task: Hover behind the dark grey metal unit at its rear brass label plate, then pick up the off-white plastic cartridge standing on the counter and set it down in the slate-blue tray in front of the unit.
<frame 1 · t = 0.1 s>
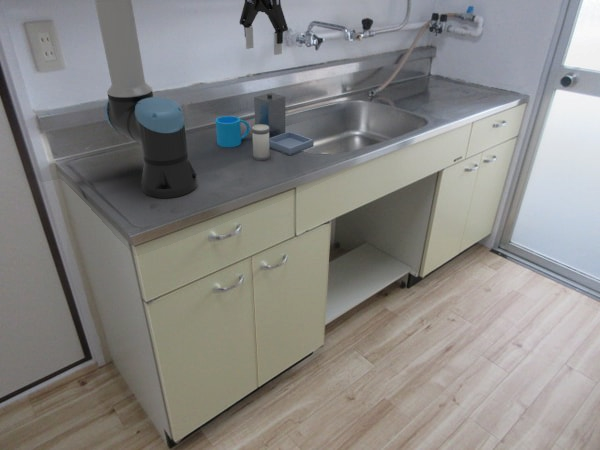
hand: (263, 51, 152), 28 cm above the worktop, fingers open, 13 cm apart
mug: (234, 142, 158), on the worktop
cartridge: (261, 157, 147), on the worktop
unit: (270, 136, 163), on the worktop
tray: (289, 146, 155), on the worktop
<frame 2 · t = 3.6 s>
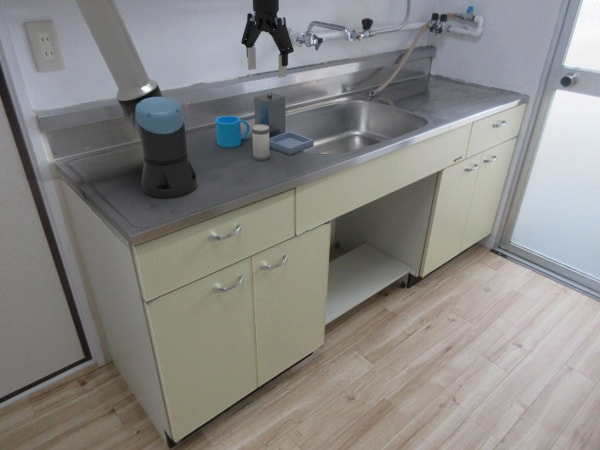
hand: (266, 73, 142), 24 cm above the worktop, fingers open, 13 cm apart
nothing on the worktop moved.
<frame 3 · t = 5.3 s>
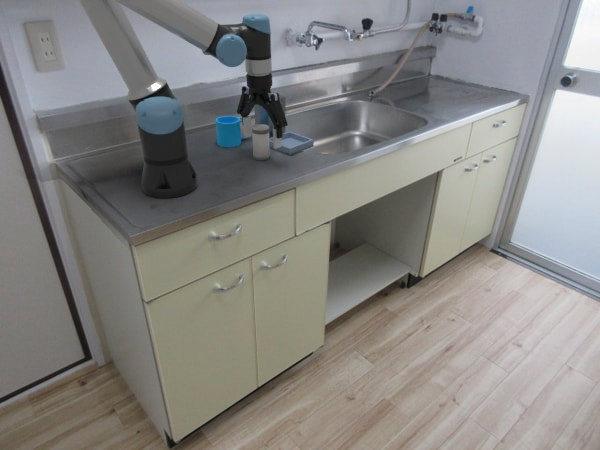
hand: (262, 142, 144), 5 cm above the worktop, fingers open, 13 cm apart
nothing on the worktop moved.
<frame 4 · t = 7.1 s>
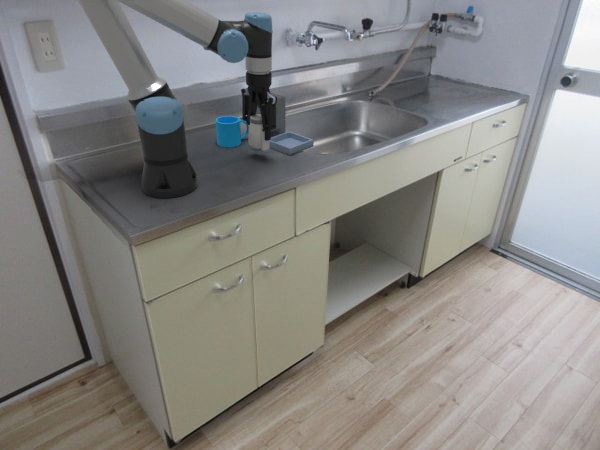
hand: (258, 146, 145), 4 cm above the worktop, fingers closed on cartridge, 5 cm apart
cartridge: (258, 147, 145), point 3 cm above the worktop, touching gripper
everything else where it was.
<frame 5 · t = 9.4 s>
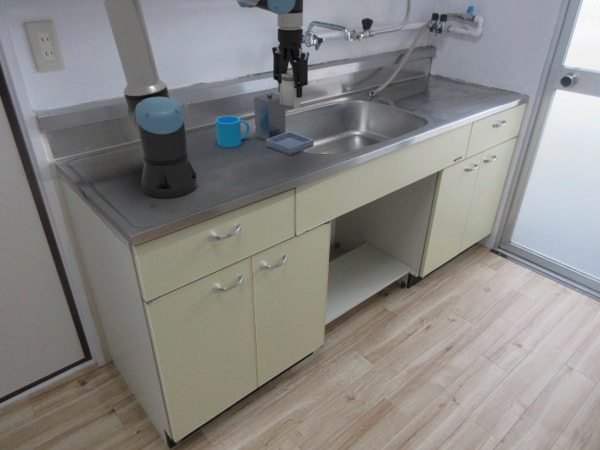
hand: (290, 105, 147), 14 cm above the worktop, fingers closed on cartridge, 5 cm apart
cartridge: (289, 106, 148), point 14 cm above the worktop, touching gripper
everything else where it was.
when the fingers open (3 cm above the worktop, at t = 12.7 s): cartridge stays where it is, resting on tray.
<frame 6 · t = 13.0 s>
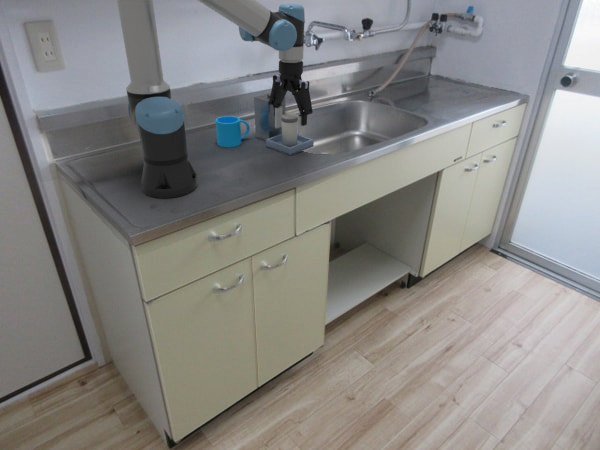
hand: (289, 130, 151), 6 cm above the worktop, fingers open, 10 cm apart
cartridge: (289, 144, 154), point 1 cm above the worktop, touching tray
everything else where it was.
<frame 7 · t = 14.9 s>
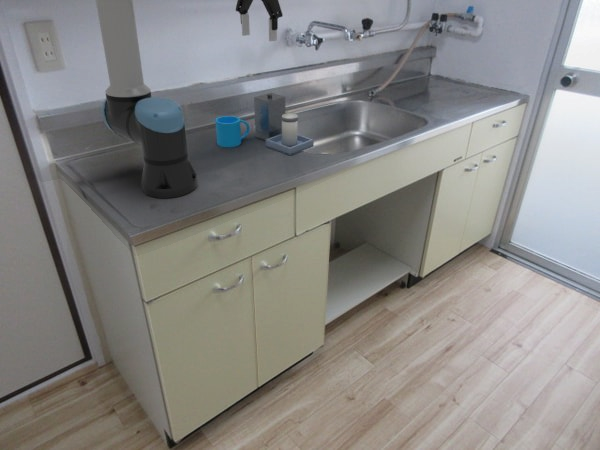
hand: (259, 38, 152), 32 cm above the worktop, fingers open, 13 cm apart
nothing on the worktop moved.
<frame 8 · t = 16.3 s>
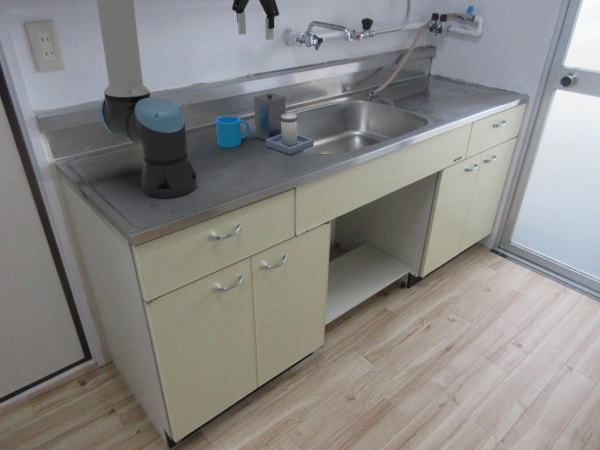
hand: (255, 36, 153), 32 cm above the worktop, fingers open, 13 cm apart
nothing on the worktop moved.
at the end: cartridge inside the target area on the tray (0.1 cm from its centre), point 0.7 cm above the tray's base; cartridge tilted 2°; the gripper is holding nothing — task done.
